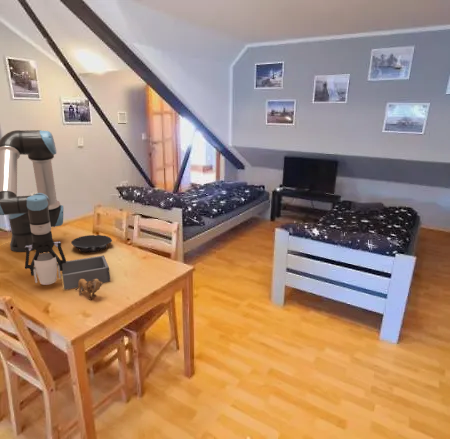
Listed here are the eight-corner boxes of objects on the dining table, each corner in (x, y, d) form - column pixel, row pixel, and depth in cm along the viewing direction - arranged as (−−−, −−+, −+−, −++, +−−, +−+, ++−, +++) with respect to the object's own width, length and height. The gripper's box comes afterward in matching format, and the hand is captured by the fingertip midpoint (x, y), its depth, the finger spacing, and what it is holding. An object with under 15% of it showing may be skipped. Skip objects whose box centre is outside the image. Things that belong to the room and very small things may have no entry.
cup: (50, 287, 144) (46, 262, 140) (32, 284, 146) (28, 259, 142) (64, 277, 153) (61, 253, 149) (46, 275, 154) (43, 251, 150)
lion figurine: (105, 296, 143) (104, 277, 140) (96, 302, 138) (94, 283, 136) (79, 288, 149) (77, 270, 146) (69, 293, 144) (67, 275, 141)
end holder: (61, 275, 158) (59, 262, 156) (105, 268, 167) (103, 255, 165) (62, 290, 146) (61, 275, 144) (110, 281, 155) (109, 267, 153)
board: (63, 248, 187) (62, 240, 186) (97, 239, 205) (96, 231, 203) (86, 259, 176) (86, 250, 174) (120, 248, 193) (120, 240, 192)
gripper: (11, 238, 134) (19, 288, 141) (69, 231, 143) (75, 278, 151) (12, 232, 140) (20, 280, 147) (68, 226, 150) (73, 271, 157)
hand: (48, 279), depth 149 cm, fingers closed on cup, 9 cm apart
